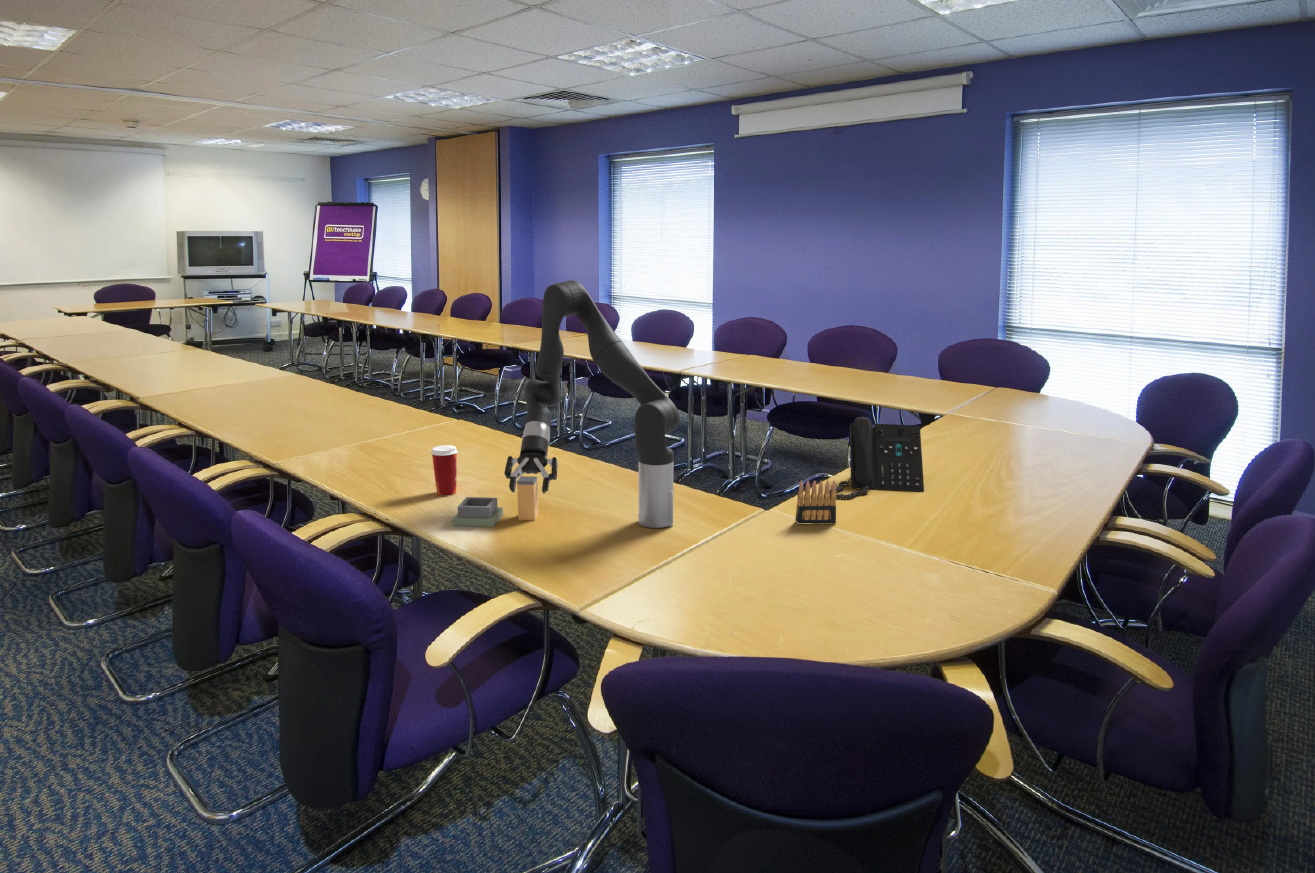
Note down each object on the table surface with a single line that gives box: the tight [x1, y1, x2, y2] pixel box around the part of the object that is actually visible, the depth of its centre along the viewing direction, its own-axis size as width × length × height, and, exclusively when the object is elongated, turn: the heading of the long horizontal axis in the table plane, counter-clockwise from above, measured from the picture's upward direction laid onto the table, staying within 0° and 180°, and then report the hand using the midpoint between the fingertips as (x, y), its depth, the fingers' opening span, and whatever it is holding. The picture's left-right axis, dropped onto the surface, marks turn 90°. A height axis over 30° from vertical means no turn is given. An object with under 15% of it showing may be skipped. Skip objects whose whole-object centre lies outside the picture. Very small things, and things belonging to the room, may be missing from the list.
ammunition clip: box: [794, 479, 837, 523], centre depth 216 cm, size 11×2×12 cm, turn 93°
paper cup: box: [430, 444, 458, 496], centre depth 239 cm, size 8×8×14 cm
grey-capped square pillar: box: [516, 475, 539, 521], centre depth 219 cm, size 4×4×11 cm
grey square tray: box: [452, 496, 504, 528], centre depth 217 cm, size 11×10×5 cm
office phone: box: [829, 416, 925, 500], centre depth 247 cm, size 29×28×20 cm
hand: (528, 491), depth 219 cm, fingers open, 8 cm apart
